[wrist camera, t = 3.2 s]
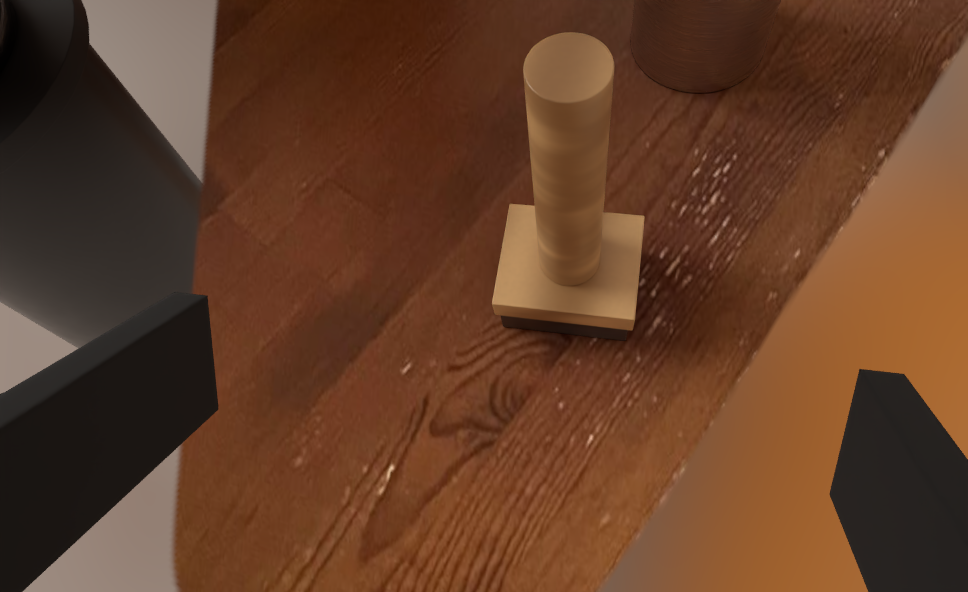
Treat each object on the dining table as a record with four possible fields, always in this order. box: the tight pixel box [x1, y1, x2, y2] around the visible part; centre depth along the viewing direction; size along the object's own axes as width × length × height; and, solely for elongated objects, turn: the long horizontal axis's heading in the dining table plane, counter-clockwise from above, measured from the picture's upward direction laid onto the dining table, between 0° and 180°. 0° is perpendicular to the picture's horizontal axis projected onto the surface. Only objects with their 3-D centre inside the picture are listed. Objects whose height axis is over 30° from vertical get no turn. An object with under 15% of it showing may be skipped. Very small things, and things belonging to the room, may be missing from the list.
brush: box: [492, 32, 645, 341], centre depth 28 cm, size 6×5×15 cm
